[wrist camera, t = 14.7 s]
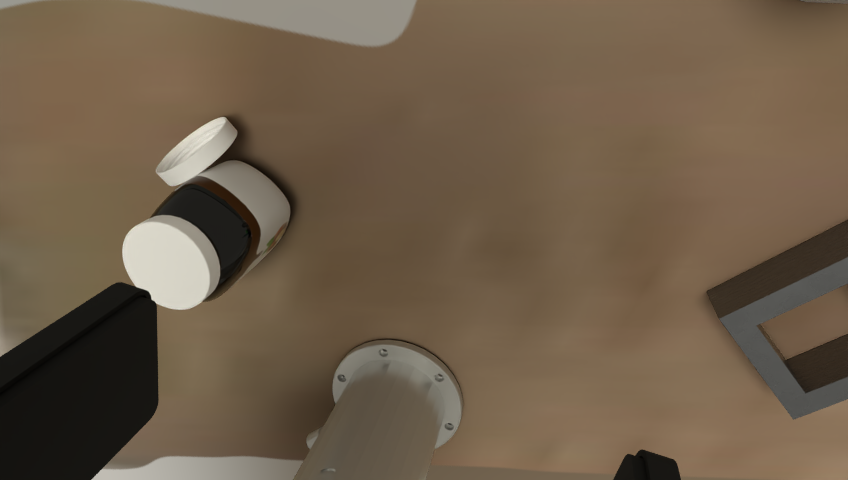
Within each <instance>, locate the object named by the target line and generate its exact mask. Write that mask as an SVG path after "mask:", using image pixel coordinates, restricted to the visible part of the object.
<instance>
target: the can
mask: <svg viewBox="0 0 848 480" xmlns="http://www.w3.org/2000/svg"><path fill="white" fill-rule="evenodd" d="M800 1H803V2H818V3H842V4H848V0H800Z"/></svg>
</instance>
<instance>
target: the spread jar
mask: <svg viewBox="0 0 848 480" xmlns="http://www.w3.org/2000/svg"><path fill="white" fill-rule="evenodd" d="M236 136H237V130H236V129H235V128H234V127H233V125H232V124H231V123H230V122H229V121H228V120H227V118H226V117H220V118H217V119H214V120H212V121H210V122H209V123H207V124H205V125H203V126H202V127H200V128H199V129H197V130H196V131H194V132H193V133H191V134H190V135H189V136H187V137H186V138H185V139H184V140H182V141H181V142H180V143H179V144H178V145H177V146H175V147H174V148H173V149H172V150H171V151H170V152H169V153H168V154H167V155H166V156H165V157H164V158H163V159H162V161H161V162H160V163H159V165H158V166H157V169H156V173H157V174H158V175H159V176H160V177H161V178H162V179H163V180H164V181H165V182H166V183H167V184H168V185H169V186H176V185H179V184H182V183H183V184H182V185H181V186H179V187H178V188H177V189H176V190H175V191H173V192H172V193H171V194H170V195H169V196H168V197H167V198H166V199H165V200H164V201H163V202H162V203H161V205H160V206H159V207H158V208H157V209H156V210H155V212H154V213H153V214H152V216H151V217H150V218H149V219H147V220H146V221H144V222H142V223H140V224H138V225H136V226H135V227H134V228H132V229H131V230H130V231H129V233H128V234H127V235H126V237H125V240H124V243H123V250H122V252H123V261H124V265H125V268H126V270H127V273H128V275H129V277H130V278H131V280H132V281H133V283H134V284H135V286H136V287H138V288H141V289H144V290H147V291H148V292H149V293H150V295H151V299H152V300H153V301H155V303H157V304H159V305H161V306H164V307H167V308H170V309H177V310H183V309H189V308H192V307H195V306H196V305H198V304H199V303H201V302H208V301H212V300H214V299H216V298H218V297H219V296H221V295H222V294H223V293H225V292H226V291H227V290H228V289H230V288H231V287H232V286H233V285H234V284H235V283H237V282H238V281H239V280H240V279H241V278H242V277H243V276H245V275H246V274H247V273H248V272H249V271H250V270H251V269H253V268H254V267H255V266H256V265H257V264H258V263H259V262H260V261H261V260H262V259H263V258H264V257H265V256H266V255H267V254H268V253H269V252H270V251H271V250H272V249H273V248H274V247H275V246H276V244H277V243H278V242H279V240H280V239H281V238H282V236H283V234H284V233H285V231H286V229H287V226H288V224H289V220H290V216H291V208H290V204H289V201H288V199H287V197H286V196H285V194H284V193H283V192H282V190H281V189H280V188H279V187H278V186H277V185H276V184H275V183H274V182H273V181H272V180H271V179H270V178H269V177H268V176H266V175H265V174H264V173H262V172H261V171H259V170H258V169H256V168H254V167H252V166H250V165H248V164H246V163H243V162H241V161H237V160H230V161H226V162H223V163H220V164H218V165H216V166H214V167H212V168H210V169H208V170H206V171H204V172H202V171H203V170H205V169H206V168H207V167H208V166H210V165H211V164H212V163H213V162H215V161H216V160H217V159H218V158H219V157H220V156H221V155H222V154H223V153H224V152H225V151H226V150H227V149H228V148H229V147H230V146H231V144H232V143H233V142H234V140H235V139H236ZM200 172H202V173H200ZM199 173H200V174H199ZM184 182H185V183H184Z"/></svg>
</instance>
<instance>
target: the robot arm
mask: <svg viewBox="0 0 848 480" xmlns="http://www.w3.org/2000/svg"><path fill="white" fill-rule="evenodd" d="M332 392H333V398H334V402H335V407H334V408H333V410H332V412H331V414H330V415H329V417H328V419H327V421H326V422H325V424H324V426H322V427H320V428H318V429H317V430H315V431H313V432H311V433H310V434H308V436H307V440H306V442H307V446H308V447H309V449H310V451H309V453H308V454H307V456H306V458H305V460H304V461H303V463H302V465H301V467H300V469H299V470H298V472H297V474H296V476H295V478H294V479H293V480H426V476H427V473H428V470H429V466H430V463H431V460H432V456H433V453H434V449H436V448H438V447H440V446H442V445H443V444H445V443H446V442H447V441H448V440H449V439H450V438H451V437H452V436H453V435H454V433H455V432H456V430H457V428H458V426H459V423H460V420H461V416H462V410H463V399H462V394H461V390H460V387H459V385H458V383H457V381H456V379H455V377H454V375H453V374H452V373H451V372H450V370H449V369H448V368H447V367H446V365H445V364H443V363H442V362H441V361H440V360H439V359H438V358H437V357H435V356H434V355H432V354H431V353H429V352H428V351H426V350H424V349H422V348H420V347H417V346H415V345H413V344H409V343H406V342H402V341H395V340H376V341H372V342H368V343H364V344H362V345H360V346H358V347H356V348H354V349H353V350H352V351H350V352H349V353H348V354H347V355H346V356H345V357H344V359H343V360H342V361H341V363H340V365H339V366H338V368H337V370H336V372H335V375H334V378H333V386H332ZM157 406H158V352H157V306H156V303H155V301H153V300H152V299H151V295H150V293H149V292H148V291H147V290H144V289H141V288H138V287H135V286H132V285H128V284H125V283H122V282H119V283H115V284H113V285H111V286H110V287H108V288H107V289H105V290H104V291H102V292H100V293H99V294H97V295H96V296H94V297H93V298H91V299H90V300H88V301H86V302H85V303H83V304H82V305H80V306H79V307H77V308H76V309H74V310H72V311H71V312H69V313H68V314H66V315H65V316H63V317H62V318H60V319H58V320H57V321H55V322H54V323H52V324H51V325H49V326H48V327H46V328H44V329H43V330H41V331H40V332H38V333H37V334H35V335H34V336H32V337H30V338H29V339H27V340H26V341H24V342H23V343H21V344H19V345H18V346H16V347H15V348H13V349H12V350H10V351H9V352H7V353H5V354H4V355H2V356H1V357H0V480H91V479H92V478H93V477H94V476H95V475H96V474H97V473H98V472H99V471H100V470H101V469H102V468H103V467H104V466H105V465H106V464H107V463H108V462H109V461H110V460H111V459H112V458H113V457H114V456H115V455H116V454H117V453H118V452H119V451H120V450H121V449H122V448H123V447H124V446H125V445H126V444H127V443H128V442H129V441H130V440H131V439H132V438H133V436H134V435H135V434H136V433H137V432H138V431H139V430H140V429H141V428H142V427H143V426H144V425H145V424H146V423H147V422H148V421H149V420H150V419H151V418H152V416H153V415H154V413H155V411H156V409H157ZM614 480H681V478H680V474H679V470H678V466H677V463H676V461H675V460H674V459H670V458H667V457H664V456H661V455H658V454H655V453H652V452H649V451H646V450H640V451H638V453H637V454H636V456H634V455H631V454H627V455H626V456H625V458H624V459H623V461H622V463H621V465H620V467H619V469H618V471H617V473H616V475H615V477H614Z"/></svg>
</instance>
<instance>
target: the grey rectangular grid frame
mask: <svg viewBox="0 0 848 480" xmlns="http://www.w3.org/2000/svg"><path fill="white" fill-rule="evenodd" d="M845 284H848V220H847V221H845V222H843V223H841V224H839V225H837V226H835V227H833V228H831V229H829V230H827V231H825V232H823V233H821V234H819V235H817V236H815V237H813V238H811V239H809V240H807V241H805V242H803V243H801V244H800V245H798V246H796V247H794V248H792V249H790V250H788V251H786V252H784V253H782V254H780V255H778V256H776V257H774V258H772V259H770V260H768V261H766V262H764V263H762V264H760V265H758V266H756V267H754V268H752V269H750V270H748V271H746V272H744V273H742V274H740V275H738V276H736V277H734V278H732V279H730V280H728V281H726V282H724V283H722V284H720V285H718V286H716V287H714V288H712V289H711V290H709V291H707V294H708V296H709V298H710V300H711V302H712V304H713V307H714V309H715V311H716V313H717V315H718V317H719V319H720V321H721V322H722V323H723V325H724V326H725V327H726V329H727V330H728V332H729V333H730V334H731V336H732V337H733V338H734V340H735V341H736V342H737V344H738V345H739V346H740V348H741V349H742V351H743V352H744V353H745V355H746V356H747V357H748V359H749V360H750V361H751V363H752V364H753V365H754V367H755V368H756V369H757V371H758V372H759V374H760V375H761V376H762V378H763V379H764V380H765V382H766V383H767V384H768V386H769V387H770V388H771V390H772V391H773V393H774V394H775V395H776V397H777V398H778V399H779V401H780V402H781V403H782V405H783V406H784V407H785V409H786V410H787V412H788V413H789V414H790V416H791V417H792V418H793V420H794V419H796V418H799V417H802V416H804V415H807V414H810V413H812V412H815V411H818V410H820V409H823V408H826V407H828V406H831V405H833V404H836V403H839V402H841V401H844V400H847V399H848V334H847V335H845V336H843V337H840V338H838V339H835V340H833V341H831V342H828V343H826V344H824V345H821V346H819V347H817V348H814V349H812V350H810V351H807V352H805V353H802V354H800V355H798V356H795V357H793V358H791V359H788V360H785V358H784V357H783V356H782V354H781V353H780V351H779V350H778V349H777V347H776V346H775V344H774V343H773V342H772V340H771V339H770V338H769V336H768V335H767V333H766V332H765V331H764V329H763V328H762V326H761V325H760V324H761V323H763V322H765V321H767V320H769V319H772V318H774V317H776V316H778V315H780V314H782V313H785V312H787V311H789V310H791V309H793V308H796V307H798V306H800V305H802V304H804V303H806V302H809V301H811V300H813V299H815V298H817V297H819V296H822V295H824V294H826V293H828V292H830V291H832V290H835V289H837V288H839V287H841V286H843V285H845Z"/></svg>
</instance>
